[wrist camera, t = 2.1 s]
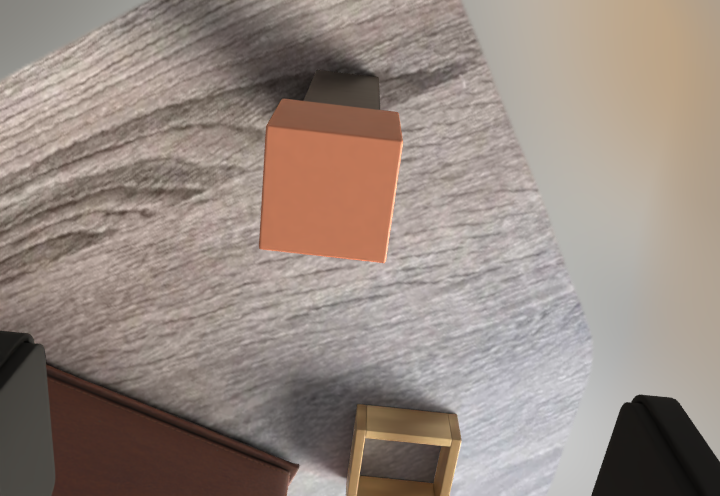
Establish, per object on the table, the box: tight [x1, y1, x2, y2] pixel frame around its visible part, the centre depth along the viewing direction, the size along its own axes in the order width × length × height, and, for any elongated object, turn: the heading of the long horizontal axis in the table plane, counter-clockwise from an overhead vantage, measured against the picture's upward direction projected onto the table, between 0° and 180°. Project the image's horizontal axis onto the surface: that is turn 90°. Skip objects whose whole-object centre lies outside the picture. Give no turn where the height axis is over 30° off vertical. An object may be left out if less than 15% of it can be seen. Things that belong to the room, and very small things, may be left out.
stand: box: [304, 70, 380, 110], centre depth 31 cm, size 3×3×10 cm
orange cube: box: [259, 99, 403, 263], centre depth 24 cm, size 4×4×4 cm
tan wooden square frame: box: [346, 404, 462, 496], centre depth 43 cm, size 6×6×2 cm
